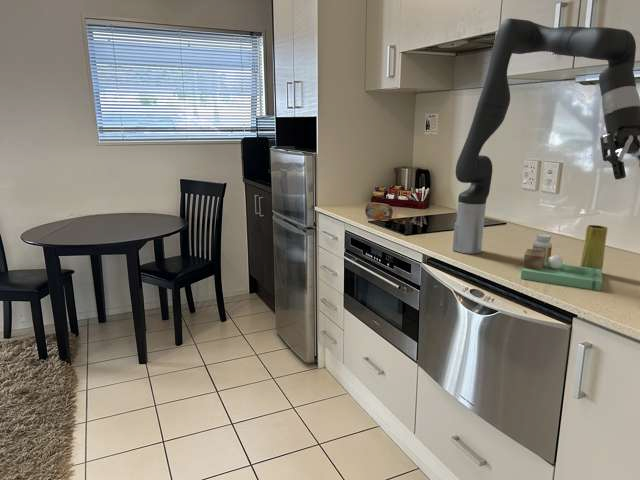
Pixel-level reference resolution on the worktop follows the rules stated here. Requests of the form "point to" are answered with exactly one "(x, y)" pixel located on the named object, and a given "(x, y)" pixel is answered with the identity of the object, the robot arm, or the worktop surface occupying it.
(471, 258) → the worktop surface
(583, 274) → the green
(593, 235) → the vase
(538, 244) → the supplement bottle
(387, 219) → the tin
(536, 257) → the block
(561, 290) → the worktop surface
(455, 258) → the worktop surface
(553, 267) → the ball
